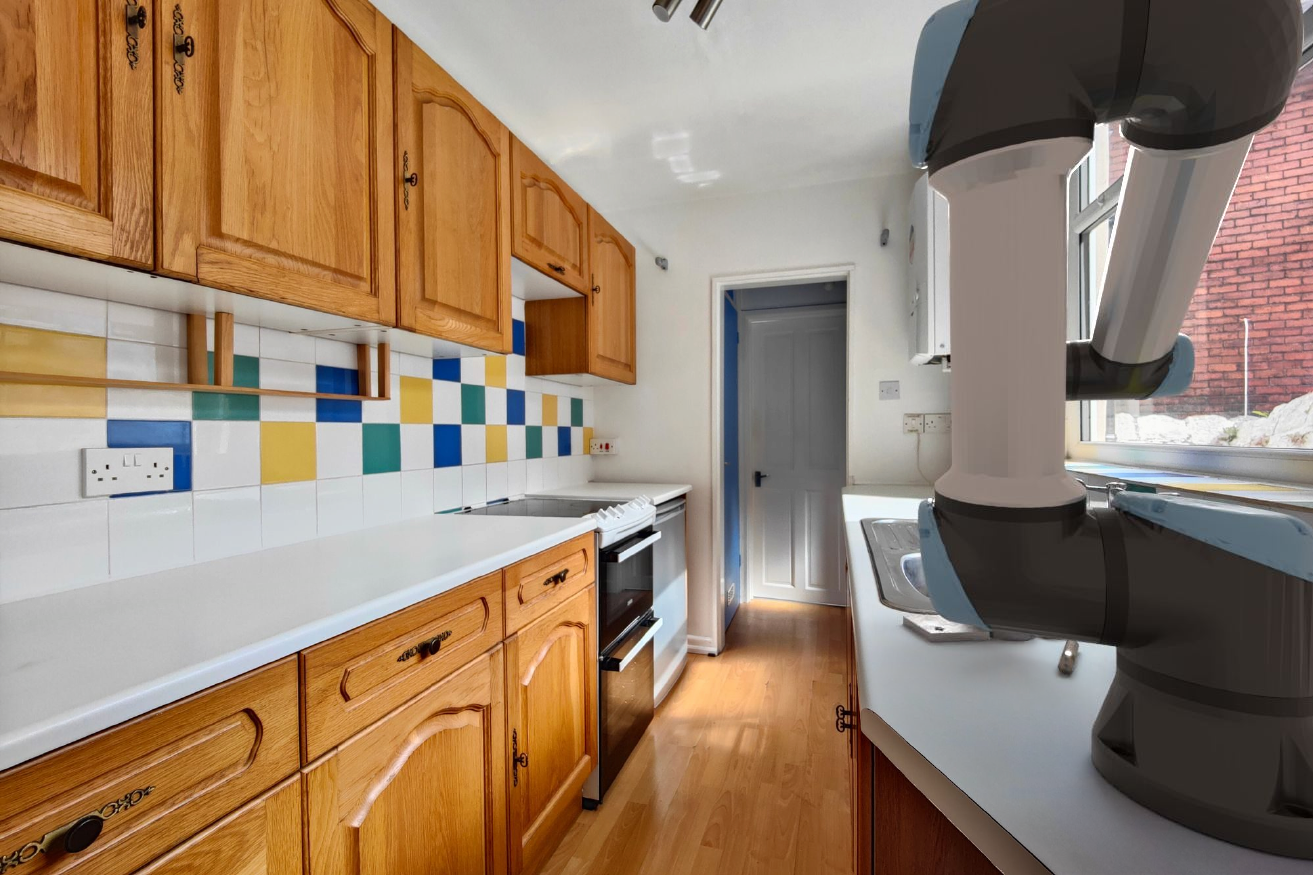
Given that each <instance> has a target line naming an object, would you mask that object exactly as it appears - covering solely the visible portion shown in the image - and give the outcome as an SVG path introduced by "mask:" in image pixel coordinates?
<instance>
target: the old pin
mask: <svg viewBox="0 0 1313 875" xmlns="http://www.w3.org/2000/svg"><path fill="white" fill-rule="evenodd" d="M1065 641H1066V642H1065V643H1064V644H1065V645H1064V647H1063V650H1062V653H1061V656H1060V658H1059V662H1058V665H1057V669H1058V671H1059V672H1060V673H1061V674H1064V675H1071V674H1072V673H1073V669H1074V666H1075V662H1076V659H1077V657H1078V656H1077V655H1078V652H1079V647H1080V644H1079V642H1078V641H1071V640H1065Z"/></svg>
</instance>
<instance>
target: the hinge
mask: <svg viewBox="0 0 1313 875" xmlns="http://www.w3.org/2000/svg"><path fill="white" fill-rule="evenodd" d="M902 624H903V625H904V626H905V627H907V628H909V629H911V631H914V632H915V633H916V634H918V635H920V636H921V637H923V638H924V639H926V640H928V641H929V642H930V643H938V642H939V643H941V642H968V641H969V642H971V641H990V638H991V639H997V640H1005V641H1013V642H1014V641H1017V642H1018V641H1019V642H1020V641H1030V640H1031V639H1034V638H1035V637H1036V636H1035V635H1027V634H1020V633H1013V632H1005V631H998V630H993V631H986V630H984V629H983V628H981V627H976V626H971V625H965V624H960V623H954V622H950V621H948V620H946V619H944V618H942V617H941V616H940V615H939V614H932V615H931V614H929V615H925V614H924V615H903V616H902ZM1043 638H1045V639H1050V638H1049V637H1043Z"/></svg>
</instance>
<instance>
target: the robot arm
mask: <svg viewBox="0 0 1313 875" xmlns="http://www.w3.org/2000/svg"><path fill="white" fill-rule="evenodd" d="M1304 20H1305V17H1304V11H1303V5H1302V1H1301V0H957V1H955V2H952V3H950V4H947V5H945V6H943V7H941V8H939V9H937V10H936V11H934V13H933V14H931V15H930V16H929V18H928V19H927V20H926V22H925V24H924V25H923V27H922V29H921V31H920V35H919V38H918V40H917V45H916V47H915V48H916V49H915V54H914V59H913V60H914V61H913V66H912V75H911V84H910V95H909V107H908V108H909V109H908V122H909V125H908V140H907V141H908V142H907V143H908V147H907V148H908V158H909V162H910V164H911V166H912V167H913V168H917V169H920V170H925V169H927V176H928V177H927V179H928V181H927V182H928V183H927V184H928V187H929V188H930V189H931V190H933V191H934V192H935V193H937V194H938V195H940V196H941V197H942V198H944V199H945V201H946V202H947V204H948V205H947V206H948V209H947V211H948V261H949V262H948V269H949V271H948V272H949V277H948V278H949V279H948V280H949V284H948V286H949V333H950V334H949V338H950V339H949V341H950V343H949V344H950V345H949V346H950V348H949V349H950V352H949V353H950V355H949V356H950V403H951V404H950V406H951V407H950V409H951V410H950V412H951V415H950V416H951V417H950V418H951V423H950V424H951V467H950V468H949V470H947V471H946V472H945V473H944V474H943V475H942V476H941V477H939V478H938V479H936V481H935V482H934V498H933V497H929V498H927V499H923V500H922V501H920V503H919V505H918V509H917V526H918V535H919V552H920V559H921V566H922V571H923V577H924V582H925V587H926V591H927V594H928V598H929V600H930V603H931V605H932V608H933V609H934V610H935V612H936V613H937V615H940V616H941V617H942V618H944V619H946V620H948V621H950V622H954V623H960V624H965V625H971V626H976V627H981V628H983V629H984V630H986V631H993V630H998V631H1005V632H1013V633H1020V634H1027V635H1035V637H1042V638H1044V637H1049V638H1048V639H1057V640H1064V641H1067V640H1071V641H1077V642H1078V643H1079V642H1080V643H1087V644H1092V645H1093V644H1094V645H1100V646H1101V645H1102V646H1108V647H1109V646H1110V647H1115V654H1116V656H1115V661H1116V662H1115V665H1116V666H1115V668H1116V669H1115V675H1114V677H1113V680H1112V682H1111V684H1110V686H1109V687H1108V688H1109V689H1108V691H1107V693H1106V695H1105V696H1104V700H1103V702H1102V704H1101V707H1100V709H1099V712H1098V714H1097V716H1096V718H1095V720H1094V722H1093V724H1092V728H1091V733H1090V738H1091V741H1090V743H1091V744H1090V745H1091V746H1090V751H1091V752H1090V753H1091V760H1092V763H1093V765H1094V766H1095V768H1096V769H1097V770H1098V772H1099V773H1100V774H1101V775H1102V776H1103V778H1105V779H1106V780H1107V781H1108V782H1109V783H1110V784H1111V785H1113V786H1114V787H1115V788H1116V789H1118V790H1119V791H1121V792H1122V793H1123V794H1125V795H1127V796H1128V797H1129V798H1131V799H1132V800H1134V801H1136V802H1137V803H1139V804H1141V805H1143V806H1145V807H1147V809H1150V810H1152V811H1154V812H1156V813H1157V814H1159V815H1162V816H1164V817H1166V818H1168V819H1170V820H1172V821H1175V822H1177V823H1179V824H1181V825H1183V826H1186V827H1188V828H1191V829H1192V830H1193V829H1194V830H1196V831H1198V832H1202V833H1203V834H1207V835H1209V836H1212V837H1215V838H1218V839H1220V840H1224V841H1226V842H1230V843H1233V844H1236V845H1240V846H1243V847H1246V848H1251V849H1253V850H1257V851H1258V850H1259V851H1263V852H1267V853H1272V854H1276V855H1282V856H1288V857H1292V858H1293V857H1294V858H1300V859H1301V858H1302V859H1311V860H1312V859H1313V527H1312V526H1310V525H1309V524H1308V523H1307V522H1305V521H1304V520H1302V519H1300V518H1298V517H1296V516H1293V515H1289V514H1287V513H1282V512H1276V511H1273V510H1266V509H1260V508H1255V507H1250V506H1244V505H1238V504H1232V503H1225V502H1217V501H1212V500H1205V499H1199V498H1191V497H1183V496H1176V495H1175V496H1174V495H1167V494H1159V493H1151V492H1139V491H1138V492H1137V491H1130V490H1129V491H1128V490H1124V491H1123V490H1122V491H1118V492H1116V493H1115V494H1114V498H1113V499H1112V500H1111V505H1112V506H1113V507H1099V506H1098V507H1097V506H1095V507H1094V506H1087V500H1088V499H1087V497H1088V493H1087V488H1086V486H1084V484H1082V483H1081V482H1079V481H1078V480H1077V479H1076V478H1075V477H1074V476H1073V475H1072V474H1070V473H1069V472H1068V471H1067V469H1066V466H1065V464H1066V462H1065V461H1066V459H1065V458H1066V408H1067V406H1066V405H1067V404H1066V403H1067V402H1075V401H1076V402H1079V401H1085V402H1086V401H1087V402H1088V401H1122V400H1124V401H1126V400H1127V401H1128V400H1129V401H1130V400H1134V401H1146V400H1149V399H1157V398H1158V399H1159V398H1161V399H1162V398H1172V397H1173V398H1174V397H1178V396H1181V395H1182V394H1184V393H1185V392H1186V391H1188V389H1189V388H1190V386H1191V384H1192V381H1193V379H1194V378H1193V376H1194V375H1193V374H1194V370H1195V368H1196V357H1195V355H1196V354H1195V348H1194V345H1193V342H1192V340H1191V338H1190V337H1189V336H1188V335H1186V334H1184V333H1182V332H1181V329H1182V326H1183V325H1184V321H1185V319H1186V316H1187V314H1188V310H1189V308H1190V305H1191V303H1192V301H1193V298H1194V296H1195V294H1196V293H1195V292H1196V290H1197V287H1198V284H1199V282H1200V279H1201V276H1202V275H1203V272H1204V269H1205V266H1206V264H1207V261H1208V260H1209V256H1210V253H1211V252H1212V249H1213V245H1214V243H1215V240H1216V237H1217V235H1218V233H1219V230H1220V228H1221V225H1222V223H1223V220H1224V217H1225V214H1226V212H1227V209H1228V207H1229V204H1230V200H1231V199H1232V196H1233V193H1234V190H1235V189H1236V185H1237V183H1238V180H1239V177H1240V176H1241V173H1242V170H1243V167H1244V164H1245V162H1246V159H1247V157H1248V155H1249V151H1250V149H1251V147H1252V144H1253V141H1254V138H1255V135H1258V134H1259V133H1261V132H1262V131H1264V130H1266V129H1268V128H1269V127H1271V125H1272V124H1274V123H1275V122H1276V121H1277V120H1278V118H1280V116H1281V114H1282V113H1283V112H1284V109H1285V106H1286V104H1287V102H1288V99H1289V96H1290V94H1291V92H1292V89H1293V88H1294V84H1295V81H1296V79H1297V76H1298V74H1299V69H1300V66H1301V61H1302V57H1303V56H1302V55H1303V52H1304V51H1303V50H1304V44H1305V43H1304V41H1305V40H1304V39H1305V38H1304V37H1305V30H1304V29H1305V21H1304ZM1118 122H1120V123H1119V135H1120V137H1121V139H1122V140H1123V141H1124V142H1125V143H1127V145H1130V147H1129V151H1128V157H1127V162H1126V165H1125V171H1124V176H1123V180H1122V185H1121V189H1120V196H1119V198H1118V205H1117V208H1116V213H1115V218H1114V225H1113V229H1112V232H1111V237H1110V242H1109V247H1108V253H1107V258H1106V262H1105V267H1104V269H1103V270H1104V272H1103V276H1102V280H1101V285H1100V289H1099V295H1098V299H1097V305H1096V310H1095V314H1094V319H1093V323H1092V328H1091V332H1090V339H1080V340H1079V339H1077V340H1068V341H1067V336H1068V332H1067V331H1068V330H1067V327H1068V326H1067V325H1068V323H1067V322H1068V277H1069V276H1068V275H1069V274H1068V273H1069V272H1068V270H1069V269H1068V268H1069V267H1068V265H1069V258H1068V257H1069V207H1070V204H1069V200H1070V199H1069V197H1070V196H1069V195H1070V192H1069V191H1070V190H1069V189H1070V179H1071V176H1072V174H1073V173H1074V171H1076V170H1077V169H1078V168H1079V166H1080V165H1081V164H1082V163H1083V162H1084V161H1085V160H1086V159H1087V158H1088V157H1089V156H1090V154H1091V153H1093V151H1094V150H1095V130H1096V127H1101V126H1104V125H1109V124H1114V123H1118Z"/></svg>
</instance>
